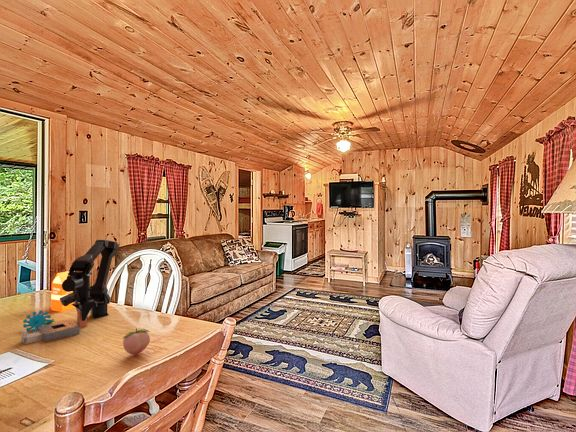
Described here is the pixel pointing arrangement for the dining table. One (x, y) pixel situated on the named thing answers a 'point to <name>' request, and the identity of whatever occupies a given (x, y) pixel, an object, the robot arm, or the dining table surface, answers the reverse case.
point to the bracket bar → (31, 337)
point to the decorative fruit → (136, 341)
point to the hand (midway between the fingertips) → (82, 319)
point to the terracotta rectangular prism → (79, 320)
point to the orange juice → (59, 293)
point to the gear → (37, 320)
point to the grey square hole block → (58, 330)
